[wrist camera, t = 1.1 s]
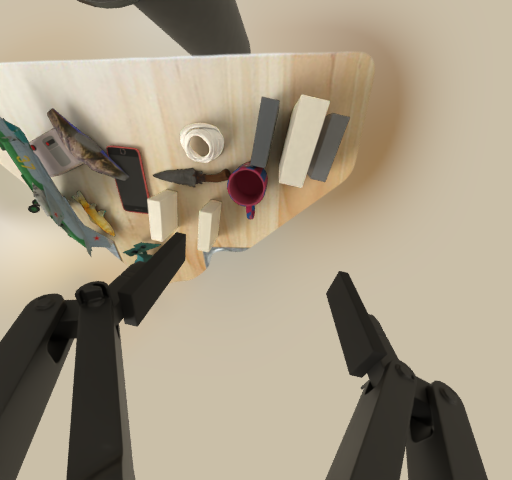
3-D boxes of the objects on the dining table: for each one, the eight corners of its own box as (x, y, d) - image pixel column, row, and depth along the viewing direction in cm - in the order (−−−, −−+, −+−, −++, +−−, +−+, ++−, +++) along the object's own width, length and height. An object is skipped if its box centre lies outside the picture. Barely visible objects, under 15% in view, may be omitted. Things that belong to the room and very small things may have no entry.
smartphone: (138, 148, 37) (152, 214, 44) (140, 148, 37) (153, 213, 44) (104, 145, 37) (123, 211, 44) (106, 144, 38) (125, 210, 45)
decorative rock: (128, 175, 39) (113, 191, 40) (133, 174, 41) (118, 189, 42) (47, 104, 33) (31, 125, 34) (58, 107, 35) (43, 126, 36)
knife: (230, 169, 36) (225, 195, 37) (233, 171, 38) (228, 195, 39) (150, 151, 37) (148, 177, 39) (157, 154, 40) (155, 178, 41)
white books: (168, 225, 46) (151, 239, 40) (166, 189, 41) (146, 199, 35) (218, 236, 46) (208, 252, 40) (221, 201, 41) (212, 213, 35)
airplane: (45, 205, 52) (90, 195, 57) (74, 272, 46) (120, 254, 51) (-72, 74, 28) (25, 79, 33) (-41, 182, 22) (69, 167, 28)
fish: (117, 233, 45) (106, 242, 47) (124, 230, 47) (112, 238, 49) (76, 188, 42) (65, 199, 43) (85, 186, 43) (74, 197, 45)
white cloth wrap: (223, 121, 35) (217, 116, 30) (228, 161, 37) (223, 161, 33) (181, 125, 35) (169, 120, 31) (188, 164, 38) (178, 165, 33)
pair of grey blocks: (254, 159, 36) (250, 164, 30) (265, 103, 32) (261, 96, 26) (317, 173, 36) (325, 182, 30) (336, 120, 32) (350, 117, 26)
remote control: (96, 157, 39) (83, 159, 37) (46, 181, 43) (31, 184, 41) (72, 122, 36) (56, 121, 34) (21, 151, 40) (3, 152, 38)
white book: (278, 165, 36) (278, 182, 23) (292, 109, 32) (301, 94, 19) (293, 168, 36) (302, 188, 23) (309, 113, 32) (330, 100, 19)
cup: (268, 163, 36) (267, 168, 31) (265, 211, 41) (263, 224, 36) (234, 160, 37) (226, 166, 31) (235, 209, 42) (228, 221, 36)
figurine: (115, 249, 50) (128, 273, 53) (102, 259, 42) (119, 287, 44) (161, 233, 54) (172, 256, 56) (158, 240, 45) (171, 266, 48)
